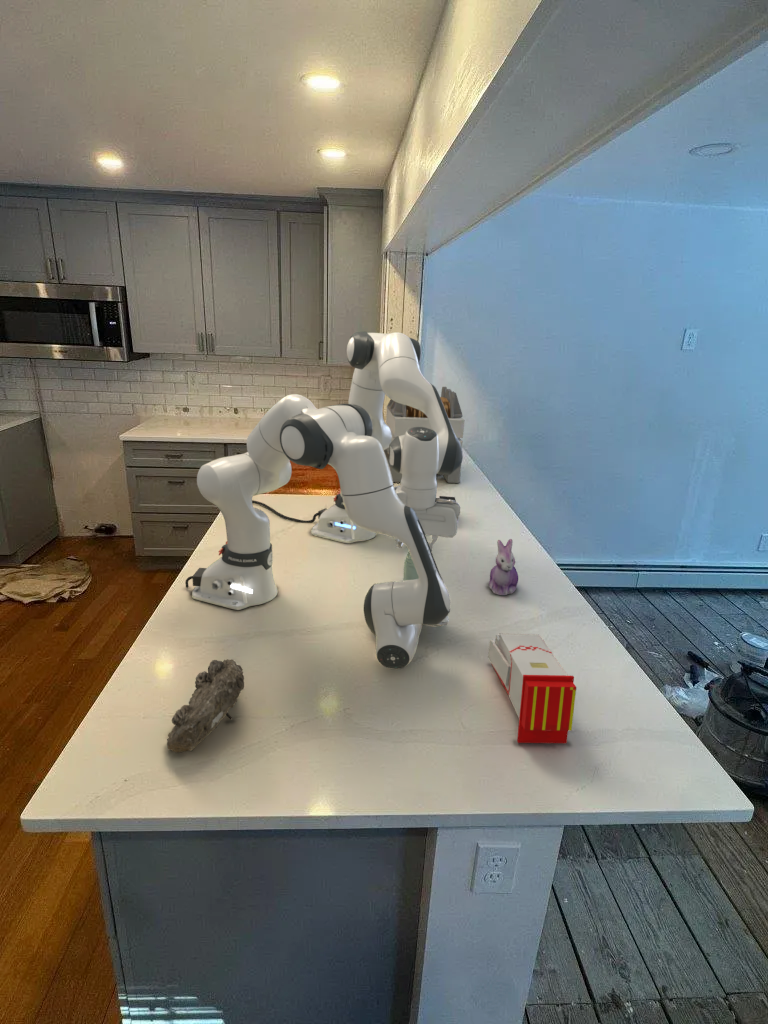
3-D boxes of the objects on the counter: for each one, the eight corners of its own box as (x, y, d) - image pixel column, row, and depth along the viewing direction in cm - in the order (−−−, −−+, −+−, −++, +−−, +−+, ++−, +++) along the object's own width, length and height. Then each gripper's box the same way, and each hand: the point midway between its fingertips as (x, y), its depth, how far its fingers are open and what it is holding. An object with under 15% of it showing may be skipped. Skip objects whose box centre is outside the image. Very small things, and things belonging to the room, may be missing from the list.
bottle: (397, 611, 149) (402, 539, 142) (413, 608, 151) (418, 537, 144) (406, 620, 145) (411, 546, 138) (422, 616, 147) (428, 543, 140)
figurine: (501, 599, 157) (507, 549, 152) (479, 583, 165) (484, 536, 160) (527, 593, 161) (534, 544, 156) (504, 578, 170) (510, 531, 165)
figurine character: (458, 530, 209) (453, 512, 222) (460, 512, 205) (455, 494, 219) (440, 529, 209) (436, 511, 222) (442, 511, 205) (438, 494, 219)
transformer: (382, 463, 289) (386, 382, 275) (445, 464, 293) (451, 384, 279) (390, 482, 257) (394, 392, 243) (460, 483, 261) (468, 394, 247)
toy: (536, 617, 130) (585, 683, 100) (531, 671, 132) (578, 750, 103) (483, 616, 129) (518, 682, 100) (479, 670, 132) (511, 749, 103)
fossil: (192, 660, 117) (244, 628, 112) (224, 691, 120) (276, 661, 115) (142, 746, 98) (202, 712, 93) (182, 779, 101) (242, 748, 96)
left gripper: (449, 614, 131) (452, 587, 144) (362, 603, 134) (374, 577, 147) (446, 637, 133) (450, 609, 146) (361, 626, 136) (373, 599, 149)
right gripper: (462, 496, 138) (457, 548, 142) (379, 488, 141) (377, 539, 146) (459, 504, 132) (454, 558, 137) (374, 495, 136) (372, 548, 140)
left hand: (411, 593), depth 147 cm, fingers closed on bottle, 5 cm apart
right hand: (414, 548), depth 141 cm, fingers open, 6 cm apart
